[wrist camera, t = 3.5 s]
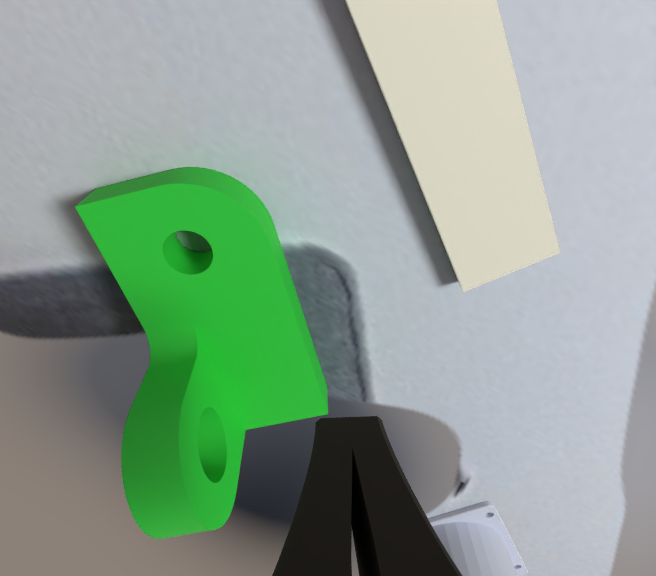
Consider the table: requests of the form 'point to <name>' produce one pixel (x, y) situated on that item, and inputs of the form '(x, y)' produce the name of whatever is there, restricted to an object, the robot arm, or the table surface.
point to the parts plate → (461, 129)
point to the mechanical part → (202, 339)
